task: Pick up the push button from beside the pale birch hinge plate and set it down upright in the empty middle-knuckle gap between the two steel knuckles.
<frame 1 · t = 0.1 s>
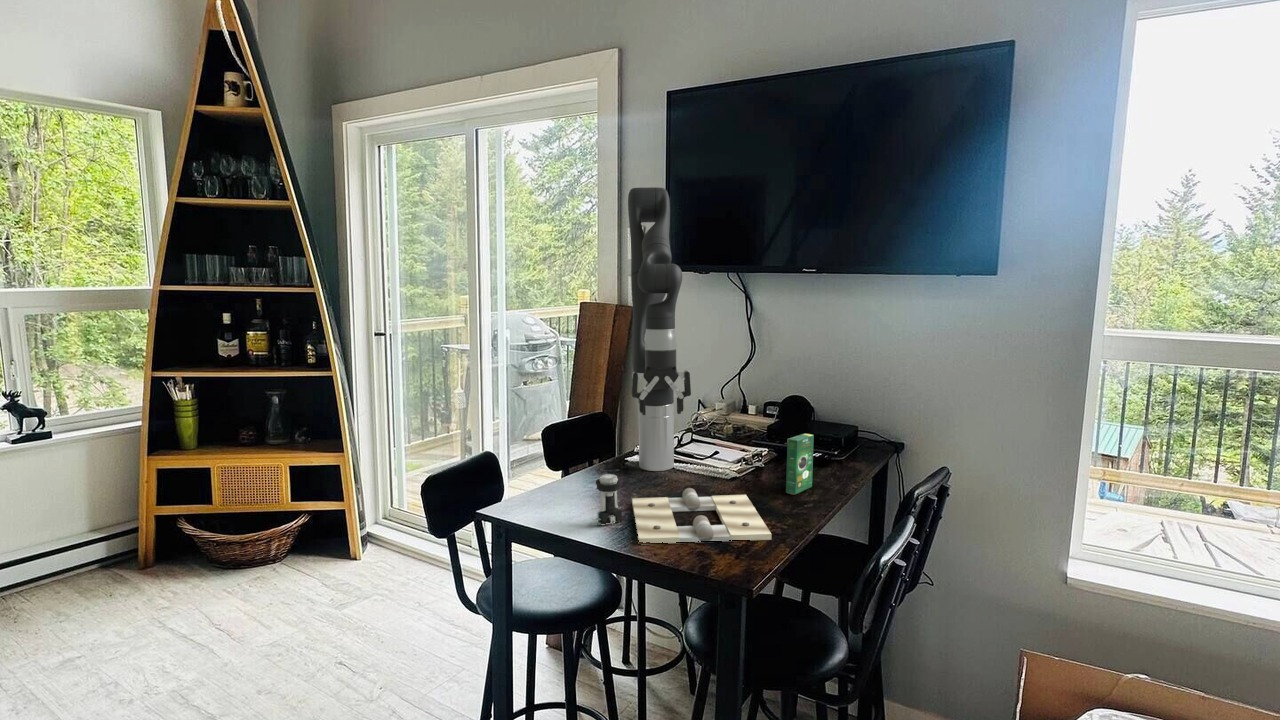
hand: (661, 414, 171), 17 cm above the table, tool pointing down, fingers open, 8 cm apart
coffee box: (799, 490, 167), on the table
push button: (606, 524, 147), on the table
hinge plate: (696, 520, 148), on the table
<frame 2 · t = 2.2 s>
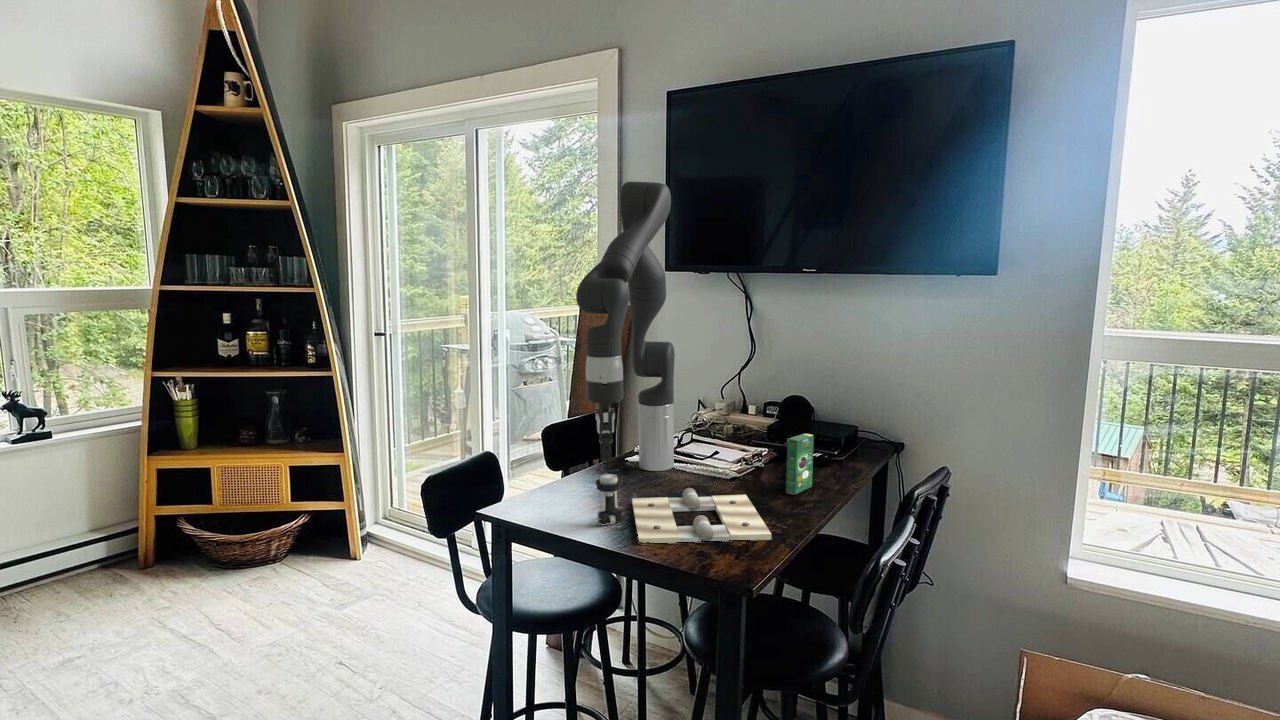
hand: (605, 455, 145), 15 cm above the table, tool pointing down, fingers open, 8 cm apart
nothing on the table moved.
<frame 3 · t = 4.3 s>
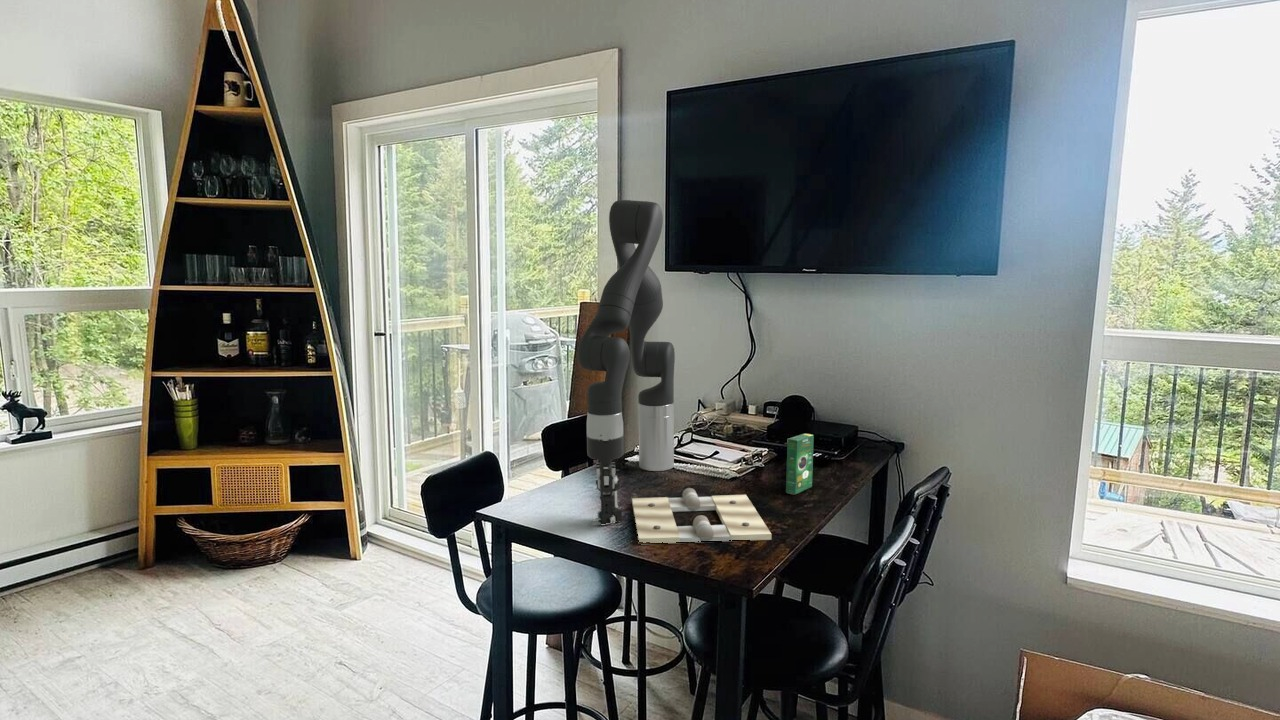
hand: (606, 512, 147), 2 cm above the table, tool pointing down, fingers closed on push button, 4 cm apart
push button: (606, 524, 147), on the table, touching gripper
everything else where it was.
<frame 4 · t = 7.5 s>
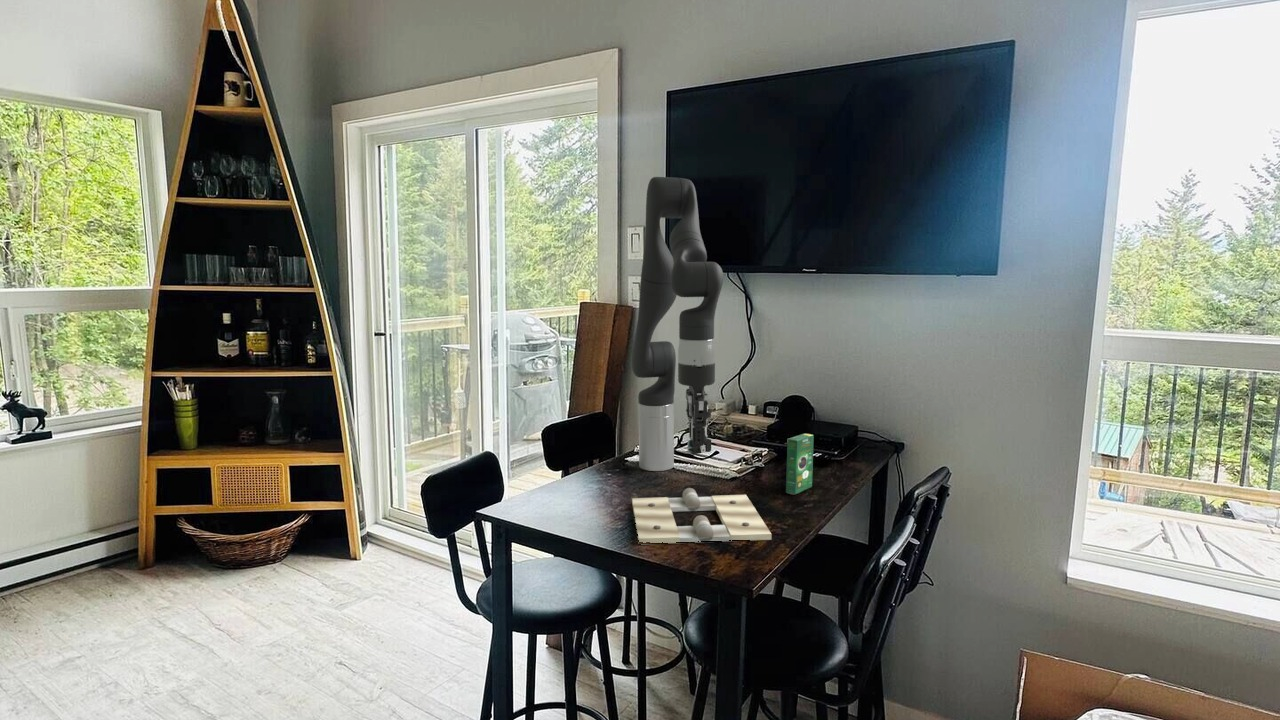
hand: (696, 442, 146), 17 cm above the table, tool pointing down, fingers closed on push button, 4 cm apart
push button: (696, 453, 146), point 14 cm above the table, touching gripper
everything else where it was.
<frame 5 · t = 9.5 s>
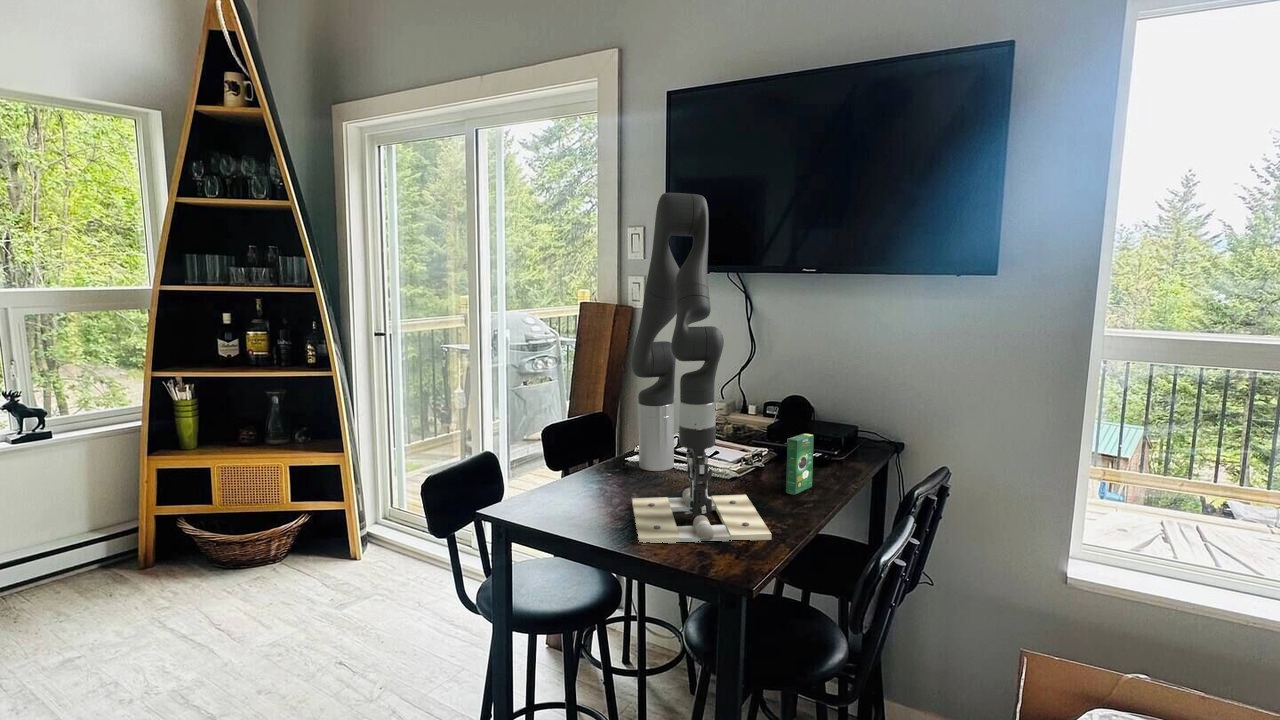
hand: (697, 502, 148), 4 cm above the table, tool pointing down, fingers closed on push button, 4 cm apart
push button: (697, 513, 148), point 1 cm above the table, touching gripper
everything else where it was.
when the fingers open (3 cm above the table, at t = 11.1 s): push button stays where it is, resting in hinge plate.
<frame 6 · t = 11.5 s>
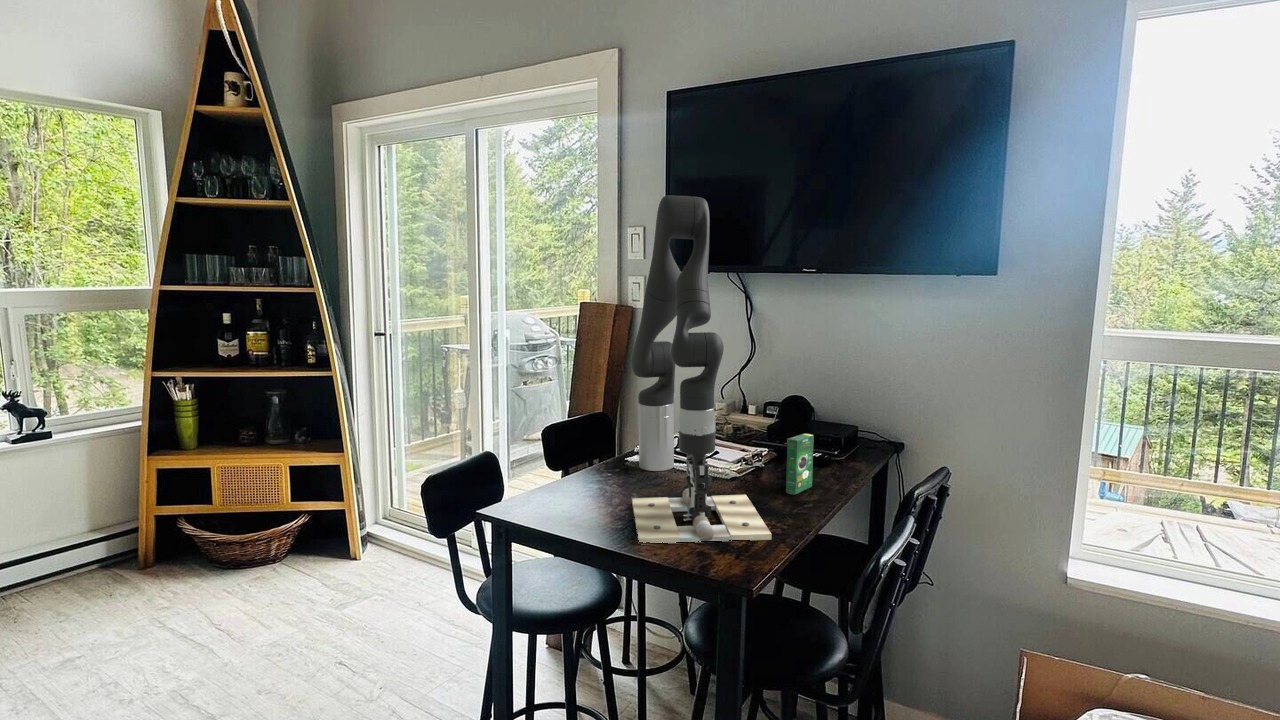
hand: (696, 504, 148), 3 cm above the table, tool pointing down, fingers open, 8 cm apart
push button: (696, 520, 149), resting in hinge plate
everything else where it was.
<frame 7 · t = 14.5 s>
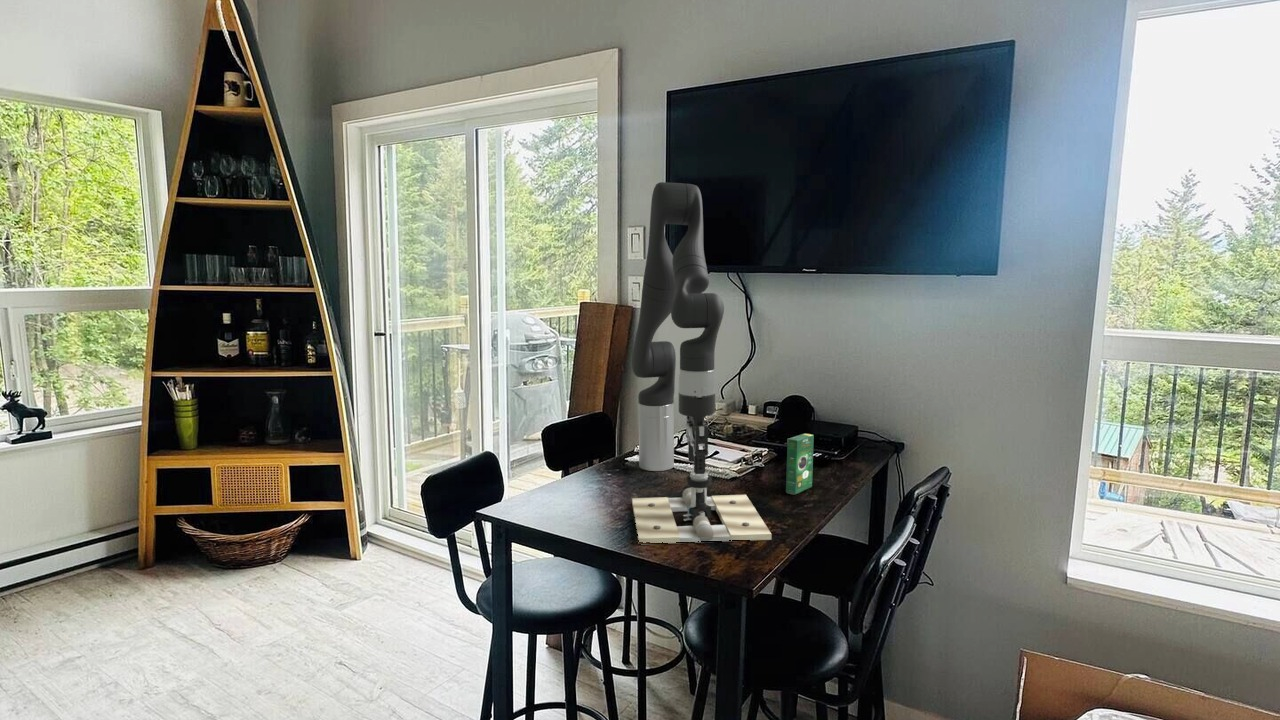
hand: (696, 467, 147), 12 cm above the table, tool pointing down, fingers open, 8 cm apart
nothing on the table moved.
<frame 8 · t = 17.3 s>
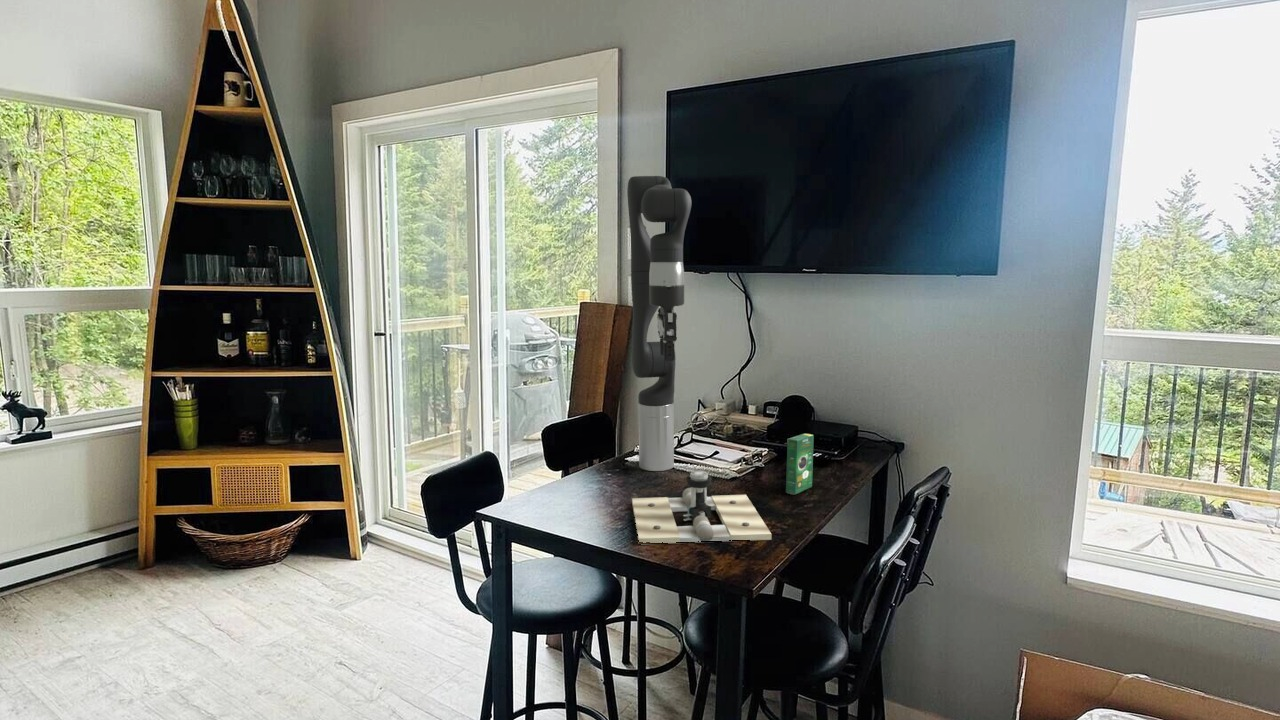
hand: (667, 357, 154), 33 cm above the table, tool pointing down, fingers open, 8 cm apart
nothing on the table moved.
at the end: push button 0.6 cm off-centre on the hinge plate, point 0.0 cm above the hinge plate's base; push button tilted 0°; the gripper is holding nothing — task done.
